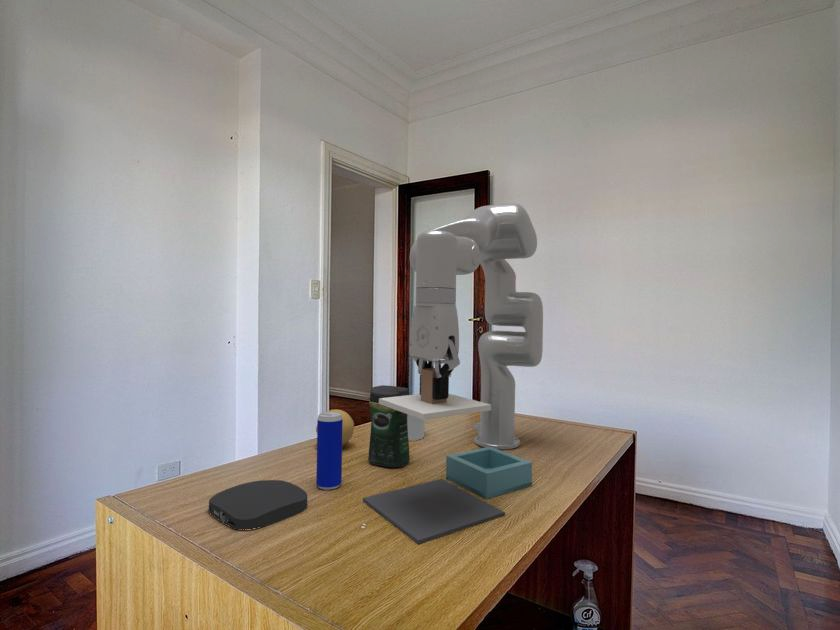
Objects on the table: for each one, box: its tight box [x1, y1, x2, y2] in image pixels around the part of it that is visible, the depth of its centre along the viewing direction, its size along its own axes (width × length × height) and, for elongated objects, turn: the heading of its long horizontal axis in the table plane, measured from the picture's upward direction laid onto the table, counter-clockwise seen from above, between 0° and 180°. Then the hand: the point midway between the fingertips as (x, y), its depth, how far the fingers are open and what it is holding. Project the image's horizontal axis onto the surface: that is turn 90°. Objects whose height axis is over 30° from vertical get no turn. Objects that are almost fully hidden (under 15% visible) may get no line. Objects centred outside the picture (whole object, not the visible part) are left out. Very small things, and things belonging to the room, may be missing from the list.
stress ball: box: [315, 409, 355, 447], centre depth 120 cm, size 10×10×10 cm
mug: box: [407, 414, 426, 442], centre depth 133 cm, size 13×10×8 cm
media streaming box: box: [208, 479, 308, 530], centre depth 83 cm, size 15×15×3 cm
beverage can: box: [315, 411, 343, 491], centre depth 94 cm, size 5×5×15 cm
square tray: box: [445, 447, 533, 500], centre depth 98 cm, size 13×13×5 cm
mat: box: [362, 478, 506, 545], centre depth 84 cm, size 19×19×1 cm
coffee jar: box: [368, 384, 410, 468], centre depth 109 cm, size 10×8×19 cm
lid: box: [379, 367, 491, 421], centre depth 84 cm, size 15×15×7 cm
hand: (433, 396), depth 84 cm, fingers closed on lid, 3 cm apart
